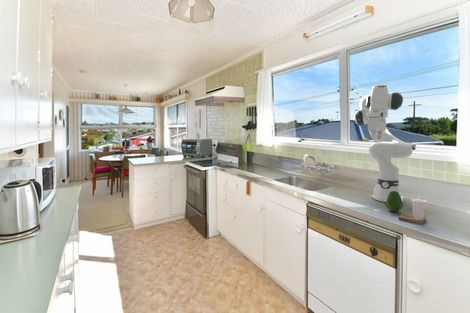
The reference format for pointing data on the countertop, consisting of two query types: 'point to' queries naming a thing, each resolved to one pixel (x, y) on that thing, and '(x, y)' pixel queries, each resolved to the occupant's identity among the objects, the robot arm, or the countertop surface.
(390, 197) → the avocado
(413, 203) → the smoothie
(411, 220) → the coaster board
